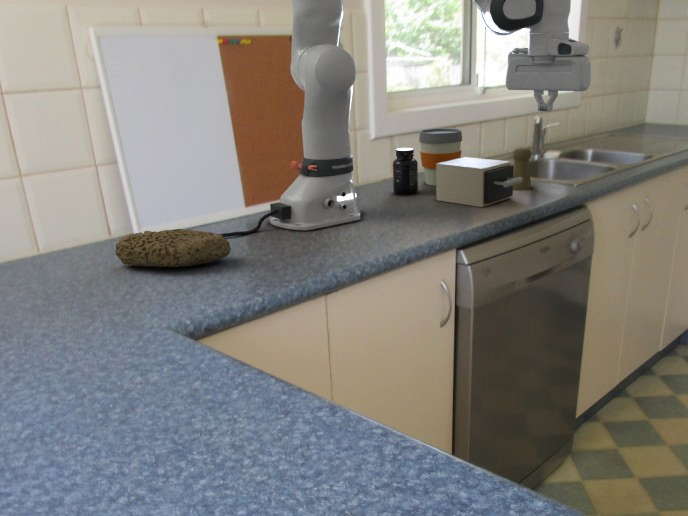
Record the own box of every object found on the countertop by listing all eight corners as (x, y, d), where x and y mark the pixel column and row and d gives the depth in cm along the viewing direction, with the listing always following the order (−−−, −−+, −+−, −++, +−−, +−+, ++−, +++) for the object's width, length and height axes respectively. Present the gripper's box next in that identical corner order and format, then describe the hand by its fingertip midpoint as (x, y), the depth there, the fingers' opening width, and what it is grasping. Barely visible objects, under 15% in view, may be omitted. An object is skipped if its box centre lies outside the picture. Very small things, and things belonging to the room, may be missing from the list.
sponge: (114, 277, 125) (197, 265, 117) (105, 236, 124) (189, 221, 116) (163, 269, 137) (242, 257, 129) (156, 231, 136) (235, 217, 128)
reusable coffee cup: (426, 188, 189) (425, 134, 184) (415, 180, 201) (413, 129, 195) (467, 185, 192) (468, 132, 187) (454, 177, 203) (454, 127, 198)
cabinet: (509, 198, 174) (511, 161, 171) (482, 207, 165) (482, 168, 162) (464, 192, 183) (465, 156, 180) (436, 200, 174) (436, 163, 171)
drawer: (526, 197, 170) (528, 167, 167) (502, 206, 162) (503, 174, 159) (470, 190, 181) (470, 161, 178) (444, 197, 173) (444, 167, 170)
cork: (525, 190, 183) (526, 149, 179) (505, 188, 186) (506, 148, 182) (535, 186, 187) (536, 147, 183) (515, 184, 191) (517, 145, 187)
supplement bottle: (388, 193, 185) (387, 149, 180) (407, 189, 188) (406, 146, 184) (403, 196, 179) (402, 151, 175) (423, 193, 183) (422, 149, 179)
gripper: (501, 48, 153) (499, 110, 158) (582, 46, 140) (578, 114, 145) (515, 48, 157) (513, 108, 162) (596, 45, 144) (591, 111, 149)
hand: (545, 111), depth 153 cm, fingers closed
